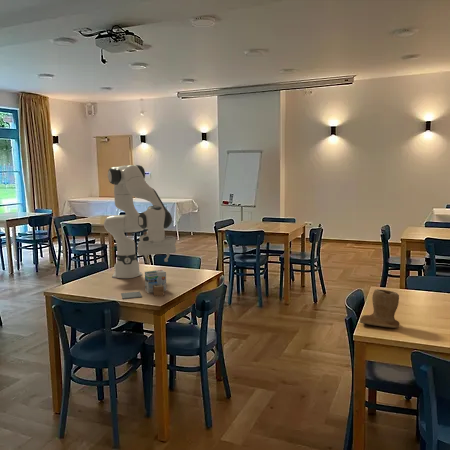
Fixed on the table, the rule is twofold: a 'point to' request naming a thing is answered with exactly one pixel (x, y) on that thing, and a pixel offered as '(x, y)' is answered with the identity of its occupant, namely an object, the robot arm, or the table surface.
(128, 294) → the slate mat
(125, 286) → the table surface
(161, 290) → the lettered cube
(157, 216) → the robot arm
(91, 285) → the table surface
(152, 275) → the light bulb box
